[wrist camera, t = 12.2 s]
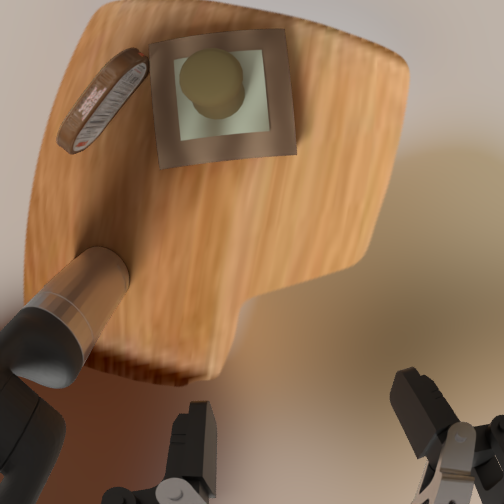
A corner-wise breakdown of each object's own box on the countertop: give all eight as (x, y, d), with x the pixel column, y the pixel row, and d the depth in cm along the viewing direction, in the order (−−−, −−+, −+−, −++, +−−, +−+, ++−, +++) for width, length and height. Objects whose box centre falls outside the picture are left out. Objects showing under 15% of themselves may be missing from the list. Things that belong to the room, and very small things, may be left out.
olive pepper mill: (207, 129, 31) (193, 123, 20) (181, 86, 29) (157, 63, 18) (254, 103, 30) (263, 85, 20) (228, 60, 28) (225, 26, 18)
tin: (145, 55, 30) (123, 37, 22) (161, 68, 31) (142, 50, 23) (76, 142, 33) (43, 146, 26) (90, 155, 34) (58, 161, 27)
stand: (166, 167, 36) (158, 170, 32) (156, 52, 30) (147, 43, 26) (291, 153, 36) (297, 155, 32) (280, 38, 30) (285, 27, 26)
